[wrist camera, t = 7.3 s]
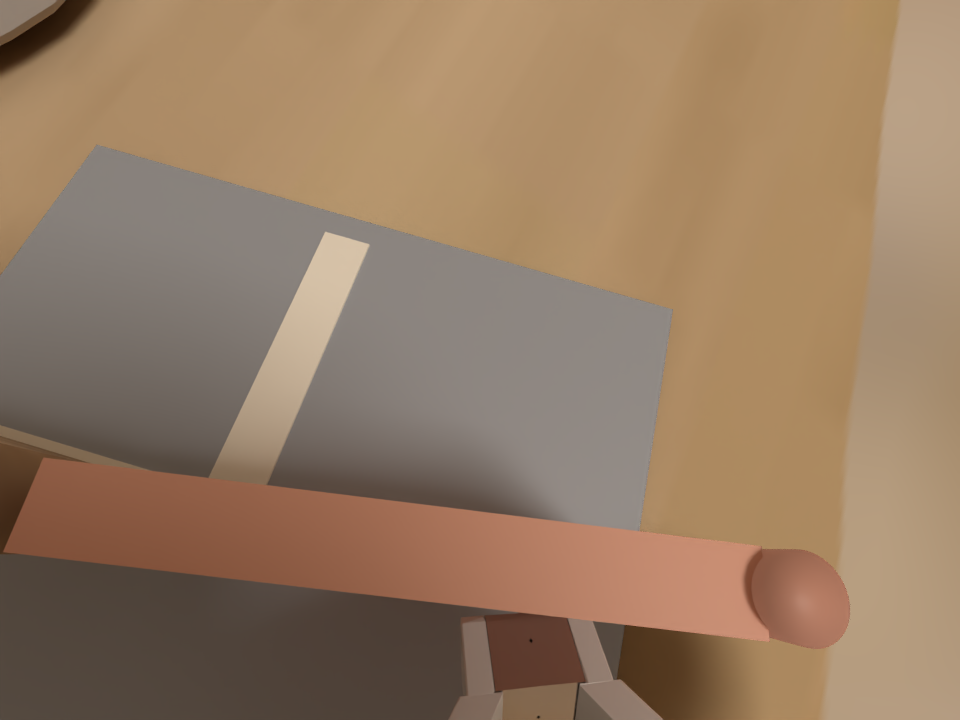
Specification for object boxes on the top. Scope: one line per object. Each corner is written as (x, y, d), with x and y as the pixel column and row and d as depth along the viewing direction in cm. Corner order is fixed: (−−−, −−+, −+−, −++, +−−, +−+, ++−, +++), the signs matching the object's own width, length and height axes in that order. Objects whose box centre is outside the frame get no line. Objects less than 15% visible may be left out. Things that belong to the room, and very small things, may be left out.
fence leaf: (608, 590, 16) (856, 653, 6) (259, 549, 15) (-14, 552, 6) (609, 551, 16) (843, 555, 7) (269, 509, 16) (29, 454, 7)
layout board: (547, 1101, 12) (551, 1119, 12) (-373, 801, 13) (-399, 809, 12) (669, 313, 20) (674, 308, 19) (101, 150, 20) (95, 142, 20)
